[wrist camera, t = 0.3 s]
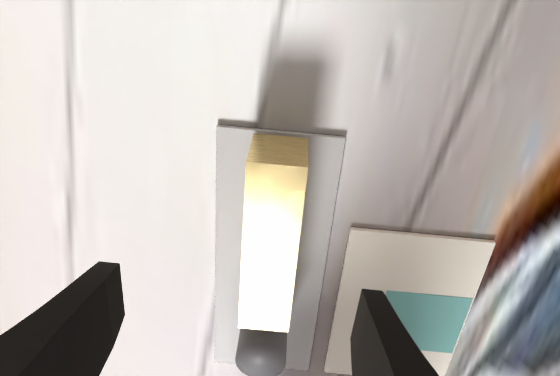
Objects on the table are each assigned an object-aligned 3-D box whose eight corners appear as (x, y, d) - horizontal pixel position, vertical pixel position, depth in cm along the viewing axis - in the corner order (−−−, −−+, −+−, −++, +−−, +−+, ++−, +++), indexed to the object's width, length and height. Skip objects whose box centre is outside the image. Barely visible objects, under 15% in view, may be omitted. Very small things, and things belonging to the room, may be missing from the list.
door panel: (440, 380, 29) (459, 441, 25) (215, 358, 29) (202, 416, 25) (527, 153, 21) (570, 196, 18) (217, 124, 21) (199, 162, 18)
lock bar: (290, 291, 25) (288, 332, 22) (245, 286, 25) (238, 327, 22) (307, 138, 21) (308, 167, 18) (253, 133, 21) (245, 161, 18)
